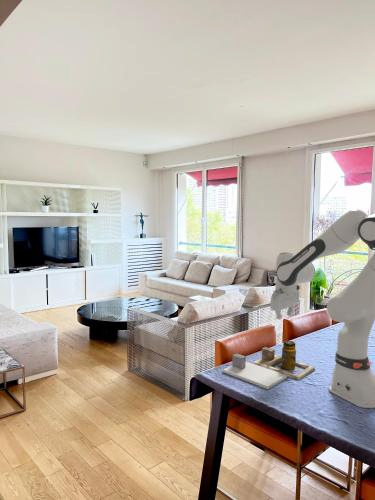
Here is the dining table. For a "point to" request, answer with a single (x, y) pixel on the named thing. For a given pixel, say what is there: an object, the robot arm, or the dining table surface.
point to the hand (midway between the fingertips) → (284, 317)
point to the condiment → (288, 357)
